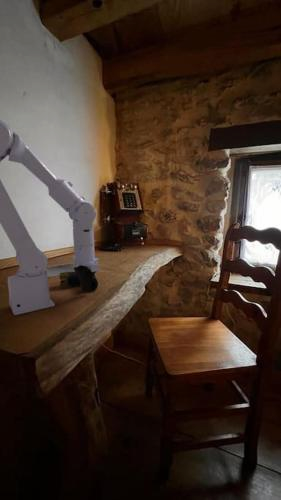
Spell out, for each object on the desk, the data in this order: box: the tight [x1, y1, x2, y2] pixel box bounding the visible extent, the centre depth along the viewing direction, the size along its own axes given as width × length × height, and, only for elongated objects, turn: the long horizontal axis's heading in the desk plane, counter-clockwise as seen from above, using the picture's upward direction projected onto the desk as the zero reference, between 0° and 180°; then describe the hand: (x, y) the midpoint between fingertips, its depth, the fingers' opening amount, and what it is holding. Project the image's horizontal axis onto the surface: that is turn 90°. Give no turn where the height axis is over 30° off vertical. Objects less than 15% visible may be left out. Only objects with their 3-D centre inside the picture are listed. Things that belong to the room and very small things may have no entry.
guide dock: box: [46, 262, 79, 278], centre depth 91 cm, size 20×4×4 cm, turn 126°
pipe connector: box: [59, 272, 99, 293], centre depth 77 cm, size 12×5×15 cm
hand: (86, 290), depth 68 cm, fingers closed
